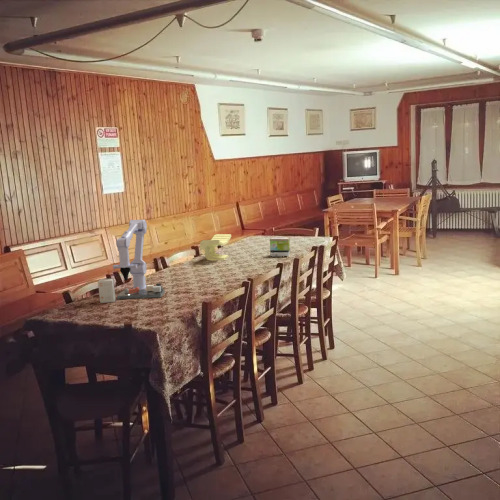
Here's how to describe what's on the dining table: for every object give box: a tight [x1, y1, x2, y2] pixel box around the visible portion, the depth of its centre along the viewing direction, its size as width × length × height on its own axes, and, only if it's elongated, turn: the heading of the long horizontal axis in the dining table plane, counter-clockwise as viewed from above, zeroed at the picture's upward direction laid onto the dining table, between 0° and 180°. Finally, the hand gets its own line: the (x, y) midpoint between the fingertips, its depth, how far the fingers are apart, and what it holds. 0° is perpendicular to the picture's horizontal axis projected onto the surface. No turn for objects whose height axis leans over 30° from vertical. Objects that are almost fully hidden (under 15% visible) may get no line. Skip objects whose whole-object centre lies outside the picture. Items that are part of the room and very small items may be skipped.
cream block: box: [145, 284, 155, 291], centre depth 325 cm, size 3×4×3 cm
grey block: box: [153, 285, 162, 292], centre depth 321 cm, size 3×4×3 cm
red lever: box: [123, 287, 139, 295], centre depth 319 cm, size 9×2×3 cm, turn 127°
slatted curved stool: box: [199, 233, 232, 261], centre depth 429 cm, size 30×16×18 cm, turn 164°
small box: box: [97, 278, 117, 304], centre depth 312 cm, size 8×6×13 cm
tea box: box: [269, 236, 291, 257], centre depth 431 cm, size 15×10×15 cm
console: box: [116, 285, 166, 300], centre depth 322 cm, size 14×26×4 cm, turn 89°
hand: (126, 280), depth 322 cm, fingers closed
